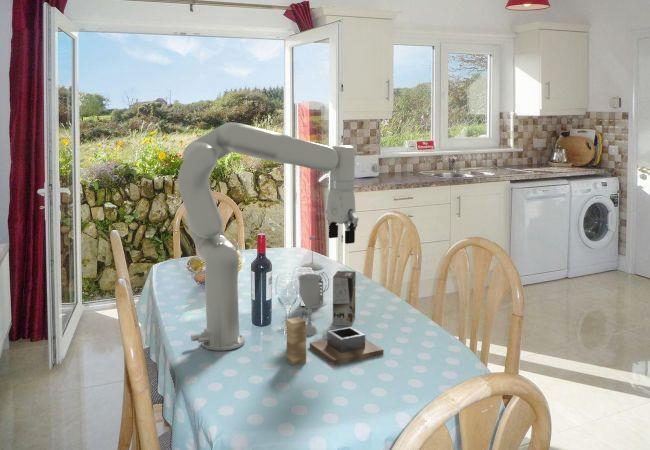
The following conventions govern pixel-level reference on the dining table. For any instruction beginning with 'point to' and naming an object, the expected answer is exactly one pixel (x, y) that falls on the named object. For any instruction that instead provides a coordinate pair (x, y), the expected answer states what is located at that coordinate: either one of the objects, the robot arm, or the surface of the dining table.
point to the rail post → (296, 340)
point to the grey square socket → (346, 339)
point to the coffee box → (344, 298)
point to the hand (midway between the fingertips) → (341, 240)
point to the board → (345, 357)
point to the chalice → (309, 296)
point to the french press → (316, 267)
